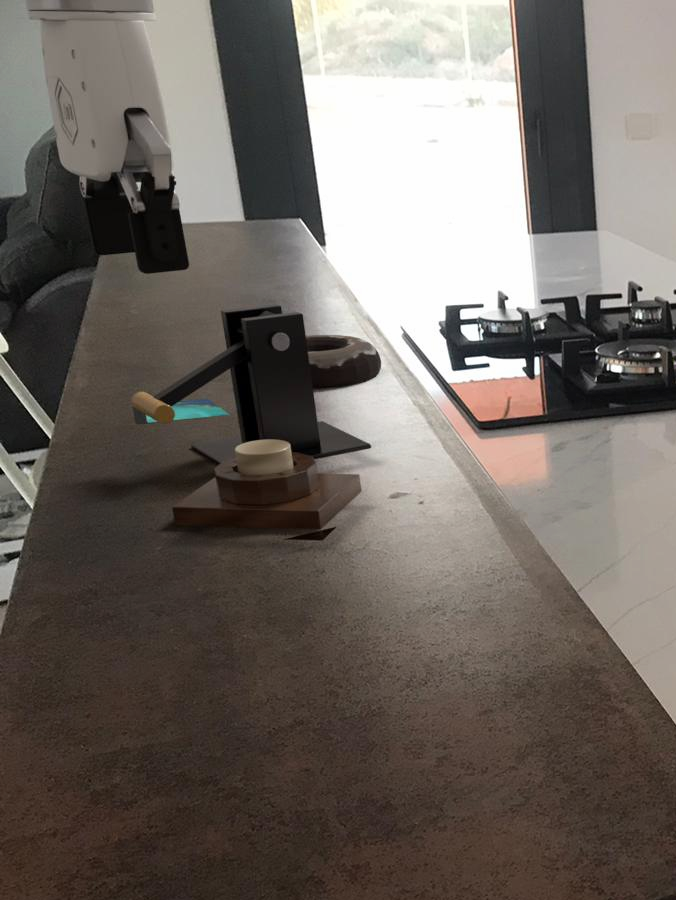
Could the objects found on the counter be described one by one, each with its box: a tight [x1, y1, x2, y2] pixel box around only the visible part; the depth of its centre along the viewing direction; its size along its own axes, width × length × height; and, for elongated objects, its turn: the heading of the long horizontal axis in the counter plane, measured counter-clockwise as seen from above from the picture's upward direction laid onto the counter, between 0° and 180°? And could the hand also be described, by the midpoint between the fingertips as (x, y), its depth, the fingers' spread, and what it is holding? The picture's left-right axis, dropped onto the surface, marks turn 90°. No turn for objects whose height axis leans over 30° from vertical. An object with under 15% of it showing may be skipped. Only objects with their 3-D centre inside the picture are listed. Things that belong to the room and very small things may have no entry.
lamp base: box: [171, 452, 362, 542], centre depth 90 cm, size 10×8×4 cm
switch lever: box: [131, 311, 276, 425], centre depth 98 cm, size 12×5×2 cm, turn 132°
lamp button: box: [235, 439, 294, 475], centre depth 89 cm, size 4×4×2 cm
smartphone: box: [132, 398, 230, 425], centre depth 115 cm, size 7×1×15 cm
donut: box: [306, 334, 382, 390], centre depth 125 cm, size 12×12×4 cm
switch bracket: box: [190, 303, 372, 466], centre depth 101 cm, size 11×9×12 cm
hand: (140, 261), depth 91 cm, fingers open, 9 cm apart
